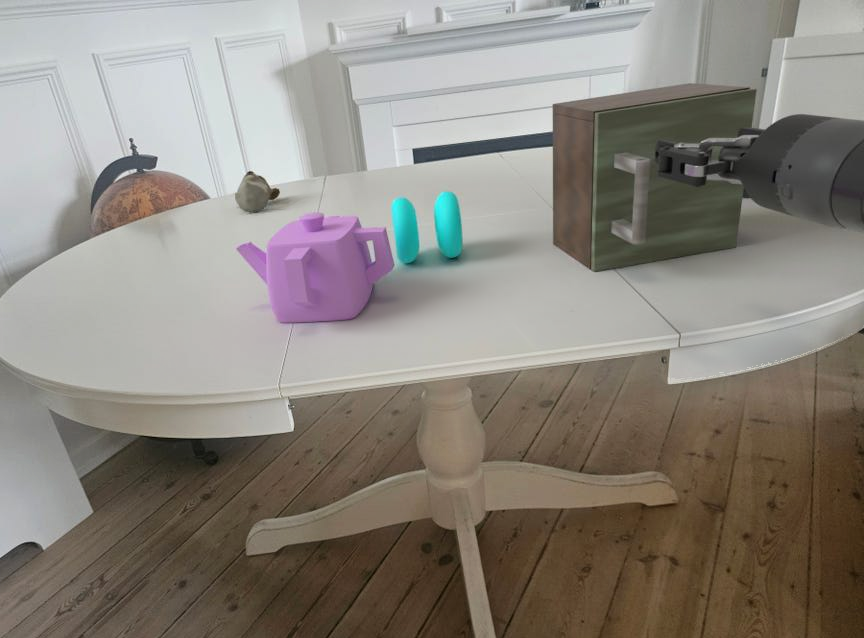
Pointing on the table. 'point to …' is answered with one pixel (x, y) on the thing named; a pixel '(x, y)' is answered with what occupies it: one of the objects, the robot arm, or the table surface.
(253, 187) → the ceramic sculpture
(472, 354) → the table surface
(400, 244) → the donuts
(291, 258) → the teakettle
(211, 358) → the table surface
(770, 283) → the table surface
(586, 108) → the cupboard
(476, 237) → the table surface
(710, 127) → the cupboard door
